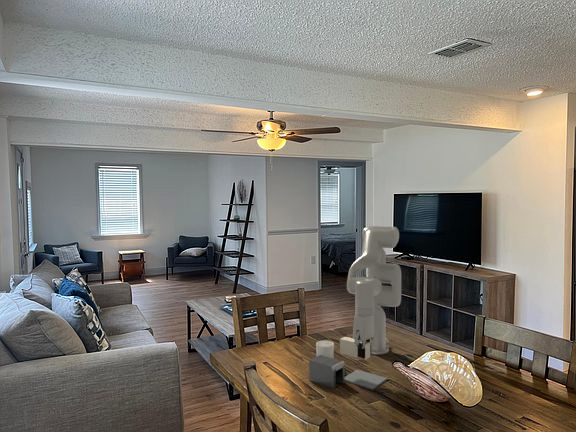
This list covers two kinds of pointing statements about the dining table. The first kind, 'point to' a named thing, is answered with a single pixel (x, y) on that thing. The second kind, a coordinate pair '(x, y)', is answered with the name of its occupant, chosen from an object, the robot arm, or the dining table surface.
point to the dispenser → (326, 371)
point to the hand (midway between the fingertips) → (364, 355)
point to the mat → (365, 379)
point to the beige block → (353, 347)
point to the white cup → (325, 348)
